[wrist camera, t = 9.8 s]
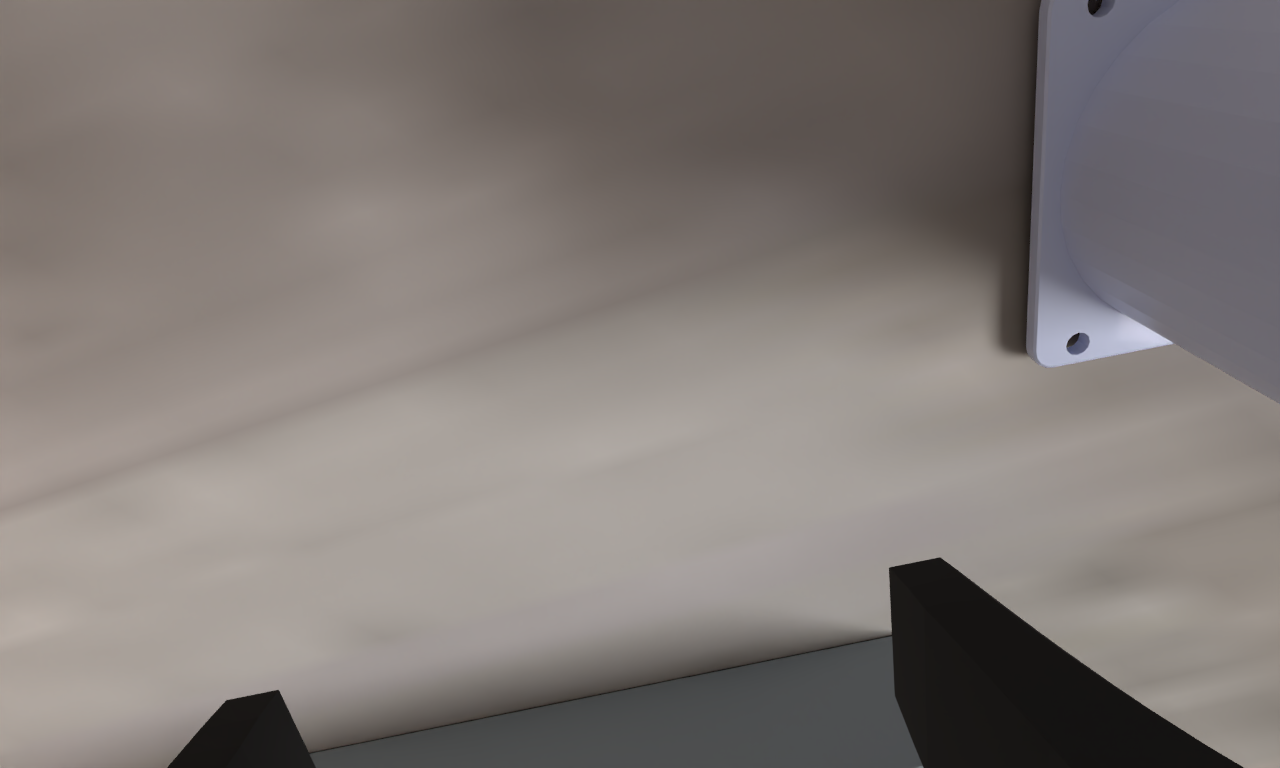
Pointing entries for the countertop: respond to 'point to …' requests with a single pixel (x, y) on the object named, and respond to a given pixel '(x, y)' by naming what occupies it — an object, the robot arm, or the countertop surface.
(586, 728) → the grey angular frame piece
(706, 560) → the countertop surface
